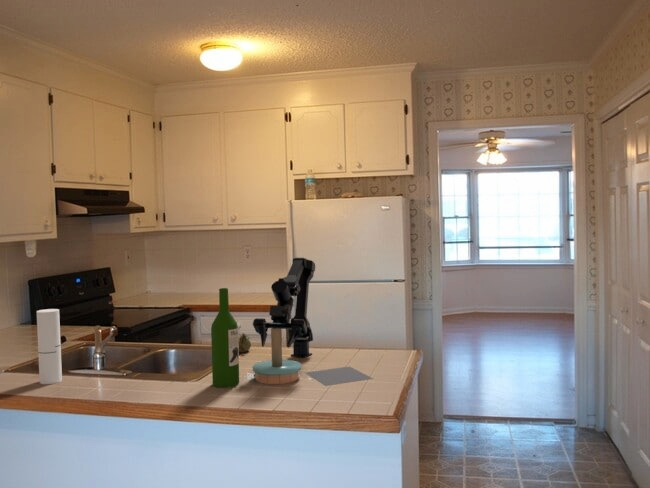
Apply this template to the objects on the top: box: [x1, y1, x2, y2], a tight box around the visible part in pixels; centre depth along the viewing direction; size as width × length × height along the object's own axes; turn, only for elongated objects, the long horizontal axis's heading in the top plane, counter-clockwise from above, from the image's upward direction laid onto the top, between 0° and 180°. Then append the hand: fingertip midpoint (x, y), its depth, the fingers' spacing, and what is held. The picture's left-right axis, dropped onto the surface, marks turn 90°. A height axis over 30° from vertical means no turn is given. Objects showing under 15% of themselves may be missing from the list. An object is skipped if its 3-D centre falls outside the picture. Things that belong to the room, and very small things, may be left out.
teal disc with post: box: [252, 328, 303, 375], centre depth 205 cm, size 17×17×14 cm
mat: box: [305, 366, 374, 387], centre depth 207 cm, size 18×18×1 cm
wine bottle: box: [210, 287, 240, 389], centre depth 199 cm, size 9×9×32 cm
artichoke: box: [238, 332, 252, 353], centre depth 247 cm, size 8×8×8 cm
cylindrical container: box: [36, 308, 63, 385], centre depth 206 cm, size 7×7×25 cm
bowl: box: [254, 370, 300, 385], centre depth 205 cm, size 15×15×4 cm
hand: (275, 346), depth 203 cm, fingers open, 9 cm apart
